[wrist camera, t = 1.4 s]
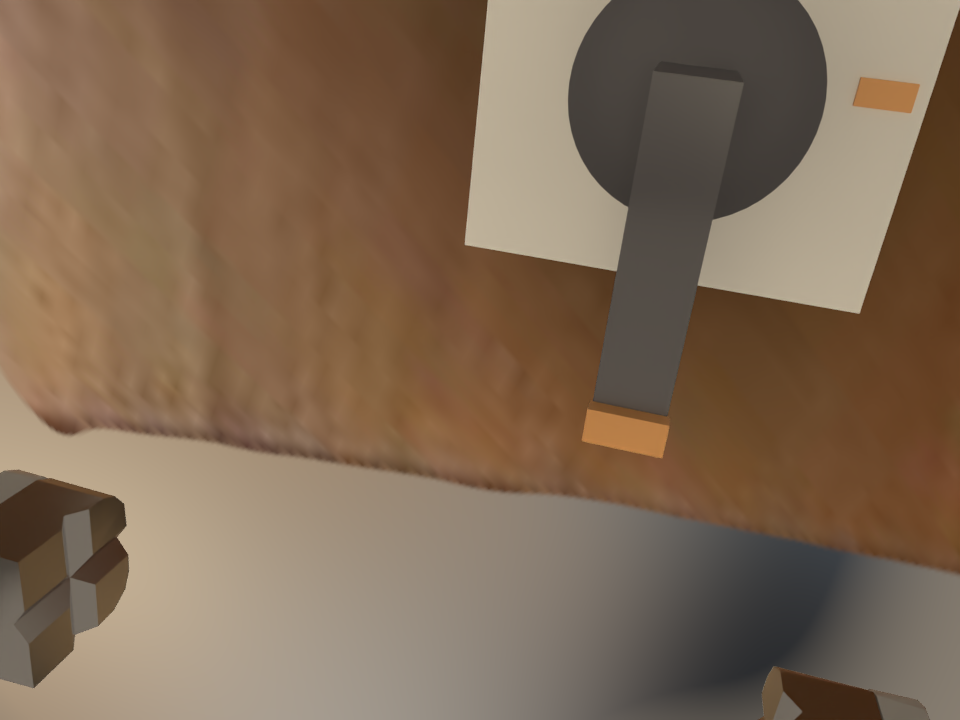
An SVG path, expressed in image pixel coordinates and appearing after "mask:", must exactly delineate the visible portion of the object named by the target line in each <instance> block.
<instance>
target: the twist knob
mask: <svg viewBox="0 0 960 720" xmlns="http://www.w3.org/2000/svg"><path fill="white" fill-rule="evenodd" d="M826 94H827V66H826V59H825V54H824V49H823V45H822V42H821V39H820V37H819V34H818V31H817V28H816V27H815V25H814V23H813V21H812V19H811V17H810V15H809V14H808V12H807V11H806V10H805V8H804V7H803V6H802V4H801V3H800V2H799V0H611V1H610V2H609V3H608V4H607V5H606V6H605V7H604V9H603V10H602V11H601V12H600V13H599V15H598V16H597V17H596V18H595V20H594V21H593V23H592V24H591V26H590V28H589V29H588V31H587V32H586V34H585V36H584V38H583V40H582V42H581V44H580V47H579V49H578V51H577V54H576V57H575V60H574V63H573V66H572V71H571V76H570V81H569V90H568V116H569V121H570V127H571V132H572V136H573V139H574V142H575V145H576V148H577V150H578V152H579V155H580V157H581V159H582V161H583V163H584V164H585V166H586V167H587V169H588V171H589V172H590V174H591V175H592V176H593V177H594V179H595V180H596V181H597V182H598V184H599V185H600V186H601V187H602V188H603V189H604V190H605V191H607V192H608V193H609V194H610V195H611V196H612V197H613V198H615V199H616V200H618V201H619V202H621V203H622V204H623V205H625V206H627V207H628V212H627V218H626V223H625V229H624V234H623V240H622V245H621V250H620V256H619V261H618V267H617V272H616V278H615V283H614V289H613V294H612V300H611V305H610V311H609V316H608V322H607V327H606V333H605V338H604V343H603V349H602V354H601V360H600V365H599V371H598V376H597V382H596V387H595V393H594V398H593V401H590V402H589V406H588V409H587V415H586V420H585V426H584V431H583V437H582V441H583V442H588V443H592V444H597V445H602V446H606V447H611V448H616V449H620V450H625V451H630V452H634V453H639V454H644V455H648V456H653V457H657V458H662V457H663V453H664V448H665V444H666V440H667V435H668V431H669V427H670V417H667V415H668V411H669V407H670V402H671V398H672V394H673V389H674V385H675V381H676V376H677V372H678V368H679V363H680V359H681V355H682V350H683V346H684V342H685V337H686V333H687V329H688V324H689V320H690V315H691V311H692V307H693V302H694V298H695V294H696V289H697V285H698V281H699V276H700V272H701V268H702V263H703V259H704V255H705V250H706V246H707V242H708V237H709V233H710V229H711V224H712V220H714V219H718V218H722V217H725V216H729V215H732V214H734V213H737V212H739V211H741V210H744V209H746V208H748V207H750V206H751V205H753V204H755V203H757V202H758V201H760V200H762V199H763V198H765V197H766V196H767V195H769V194H770V193H771V192H773V191H774V190H775V189H776V188H777V187H778V186H780V185H781V184H782V183H783V182H784V181H785V180H786V179H787V178H788V177H789V176H790V175H791V173H792V172H793V171H794V170H795V169H796V167H797V166H798V165H799V164H800V162H801V161H802V159H803V158H804V156H805V155H806V153H807V151H808V150H809V148H810V146H811V144H812V142H813V140H814V138H815V136H816V134H817V131H818V128H819V125H820V122H821V119H822V116H823V112H824V107H825V102H826Z"/></svg>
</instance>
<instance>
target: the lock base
mask: <svg viewBox="0 0 960 720" xmlns="http://www.w3.org/2000/svg"><path fill="white" fill-rule="evenodd" d="M610 1H611V0H488V6H487V17H486V27H485V38H484V48H483V58H482V69H481V79H480V90H479V100H478V111H477V121H476V132H475V142H474V153H473V163H472V174H471V184H470V195H469V205H468V215H467V226H466V236H465V245H469V246H475V247H480V248H486V249H492V250H498V251H503V252H509V253H515V254H521V255H526V256H532V257H538V258H544V259H549V260H555V261H561V262H566V263H572V264H578V265H584V266H589V267H595V268H601V269H607V270H612V271H617V267H618V261H619V256H620V250H621V245H622V240H623V234H624V229H625V223H626V218H627V212H628V207H627V206H625V205H623V204H622V203H621V202H619V201H618V200H616V199H615V198H613V197H612V196H611V195H610V194H609V193H608V192H607V191H605V190H604V189H603V188H602V187H601V186H600V185H599V184H598V182H597V181H596V180H595V179H594V177H593V176H592V175H591V174H590V172H589V171H588V169H587V167H586V166H585V164H584V163H583V161H582V159H581V157H580V155H579V152H578V150H577V148H576V145H575V142H574V139H573V136H572V132H571V127H570V121H569V116H568V90H569V81H570V76H571V71H572V66H573V63H574V60H575V57H576V54H577V51H578V49H579V47H580V44H581V42H582V40H583V38H584V36H585V34H586V32H587V31H588V29H589V28H590V26H591V24H592V23H593V21H594V20H595V18H596V17H597V16H598V15H599V13H600V12H601V11H602V10H603V9H604V7H605V6H606V5H607V4H608V3H609V2H610ZM799 2H800V3H801V4H802V6H803V7H804V8H805V10H806V11H807V12H808V14H809V15H810V17H811V19H812V21H813V23H814V25H815V27H816V28H817V31H818V34H819V37H820V39H821V42H822V45H823V49H824V54H825V59H826V66H827V94H826V102H825V107H824V112H823V116H822V119H821V122H820V125H819V128H818V131H817V134H816V136H815V138H814V140H813V142H812V144H811V146H810V148H809V150H808V151H807V153H806V155H805V156H804V158H803V159H802V161H801V162H800V164H799V165H798V166H797V167H796V169H795V170H794V171H793V172H792V173H791V175H790V176H789V177H788V178H787V179H786V180H785V181H784V182H783V183H782V184H781V185H780V186H778V187H777V188H776V189H775V190H774V191H773V192H771V193H770V194H769V195H767V196H766V197H765V198H763V199H762V200H760V201H758V202H757V203H755V204H753V205H751V206H750V207H748V208H746V209H744V210H741V211H739V212H737V213H734V214H732V215H729V216H725V217H722V218H718V219H714V220H712V224H711V229H710V233H709V237H708V242H707V246H706V250H705V255H704V259H703V263H702V268H701V272H700V276H699V281H698V286H704V287H710V288H715V289H721V290H727V291H733V292H738V293H744V294H750V295H755V296H761V297H767V298H773V299H778V300H784V301H790V302H796V303H801V304H807V305H813V306H818V307H824V308H830V309H836V310H841V311H847V312H853V313H859V314H860V310H861V307H862V304H863V301H864V298H865V295H866V292H867V289H868V286H869V283H870V280H871V277H872V274H873V271H874V268H875V265H876V262H877V259H878V256H879V252H880V249H881V246H882V243H883V240H884V237H885V234H886V231H887V228H888V225H889V222H890V219H891V216H892V213H893V210H894V207H895V204H896V201H897V198H898V194H899V191H900V188H901V185H902V182H903V179H904V176H905V173H906V170H907V167H908V164H909V161H910V158H911V155H912V152H913V149H914V146H915V143H916V140H917V137H918V133H919V130H920V127H921V124H922V121H923V118H924V115H925V112H926V109H927V106H928V103H929V100H930V97H931V94H932V91H933V88H934V85H935V82H936V79H937V75H938V72H939V69H940V66H941V63H942V60H943V57H944V54H945V51H946V48H947V45H948V42H949V39H950V36H951V33H952V30H953V27H954V24H955V21H956V17H957V14H958V11H959V8H960V0H799Z"/></svg>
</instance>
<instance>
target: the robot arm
mask: <svg viewBox="0 0 960 720" xmlns="http://www.w3.org/2000/svg"><path fill="white" fill-rule="evenodd" d="M125 527H126V517H125V508H124V503H122V502H121V501H120V500H119V499H117V498H116V497H115V496H112V495H108V494H104V493H101V492H97V491H94V490H90V489H87V488H83V487H79V486H76V485H73V484H69V483H65V482H62V481H58V480H55V479H52V478H46V477H43V476H39V475H36V474H32V473H28V472H25V471H21V470H8V471H3V472H1V473H0V679H3V680H6V681H10V682H13V683H17V684H20V685H24V686H28V687H31V688H34V687H36V686H37V685H38V684H39V683H40V682H41V681H42V680H43V679H44V678H45V677H46V676H47V675H48V674H49V673H50V672H51V671H52V670H53V669H54V668H55V667H56V666H57V665H58V664H59V663H60V662H61V661H63V660H64V659H65V658H66V657H67V656H68V655H69V654H70V653H71V652H72V651H73V648H74V638H75V635H76V634H78V633H80V632H83V631H86V630H89V629H91V628H94V627H97V626H99V625H100V624H101V623H102V622H103V621H104V620H105V618H106V617H108V616H109V614H111V613H112V611H113V610H114V609H115V607H116V605H117V603H118V601H119V600H120V598H121V596H122V594H123V592H124V590H125V588H126V582H127V578H128V573H129V561H128V554H127V552H126V551H125V549H124V548H123V546H122V545H121V543H120V541H119V540H118V539H117V537H118V535H119V534H120V533H121V532H122V531H123V529H124V528H125ZM762 701H763V711H764V716H763V717H762V718H760V719H758V720H930V719H929V716H928V713H927V711H926V708H925V707H924V706H923V705H922V704H921V703H920V702H919V701H918V700H915V699H911V698H907V697H902V696H898V695H894V694H889V693H885V692H881V691H876V690H872V689H868V690H865V689H862V688H858V687H854V686H850V685H846V684H842V683H838V682H834V681H830V680H827V679H823V678H818V677H814V676H810V675H807V674H802V673H799V672H794V671H791V670H787V669H783V668H779V667H773V669H772V670H771V672H770V673H769V675H768V677H767V679H766V682H765V685H764V688H763V691H762Z"/></svg>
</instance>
